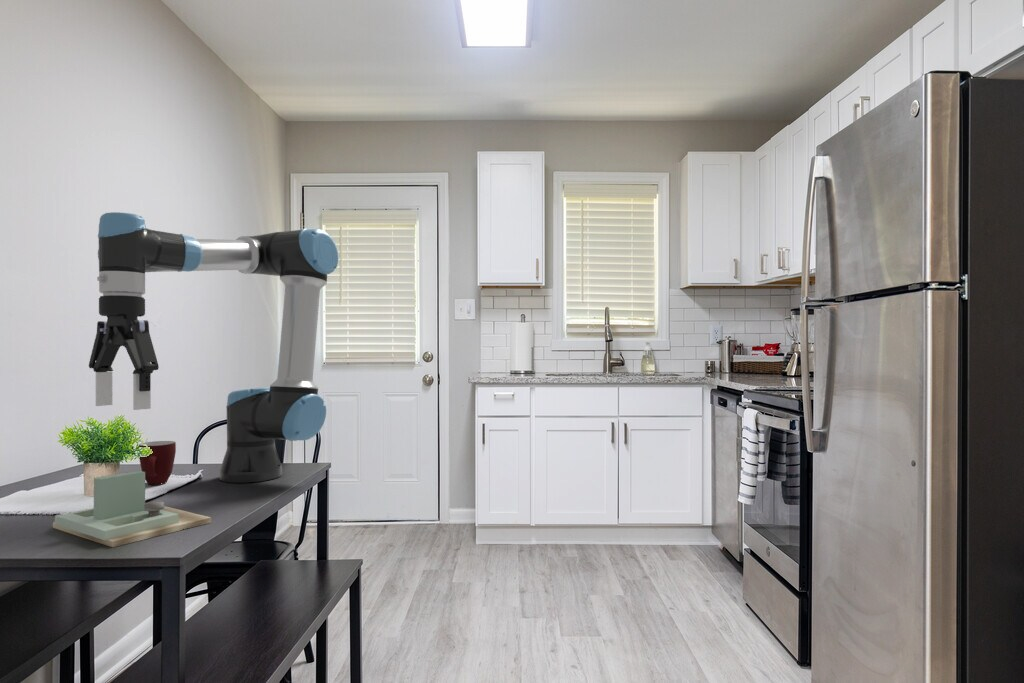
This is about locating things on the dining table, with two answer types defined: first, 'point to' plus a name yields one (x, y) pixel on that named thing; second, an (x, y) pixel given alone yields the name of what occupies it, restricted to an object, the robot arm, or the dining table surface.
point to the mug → (158, 461)
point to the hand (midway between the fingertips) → (122, 407)
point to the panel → (114, 523)
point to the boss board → (154, 510)
